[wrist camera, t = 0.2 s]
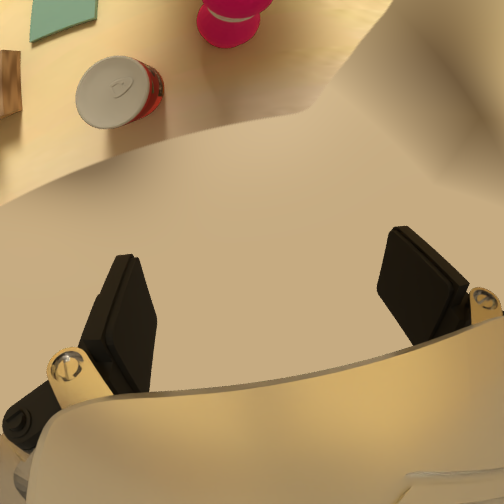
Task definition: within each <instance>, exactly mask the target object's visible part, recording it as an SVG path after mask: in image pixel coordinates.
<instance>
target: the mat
mask: <svg viewBox="0 0 504 504" xmlns="http://www.w3.org/2000/svg"><path fill="white" fill-rule="evenodd" d="M97 7H98V0H33V6H32V14H31V25H30V41H29V42H32V43H33V42H35V41H38V40H40V39H42V38H45V37H47V36H49V35H52V34H54V33H57V32H60V31H62V30H65V29H68V28H71V27H73V26H76V25H79V24H82V23H86V22H89V21H92V20H96V19H97Z"/></svg>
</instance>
